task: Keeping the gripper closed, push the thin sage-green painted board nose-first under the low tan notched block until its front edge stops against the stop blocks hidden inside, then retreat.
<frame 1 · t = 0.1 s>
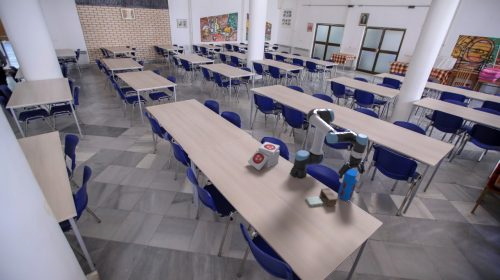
hand: (348, 180, 172), 28 cm above the table, fingers open, 13 cm apart
tan notched block: (327, 200, 194), on the table
thermos: (344, 196, 199), on the table
pizza boxes: (263, 164, 235), on the table
board: (313, 202, 191), on the table
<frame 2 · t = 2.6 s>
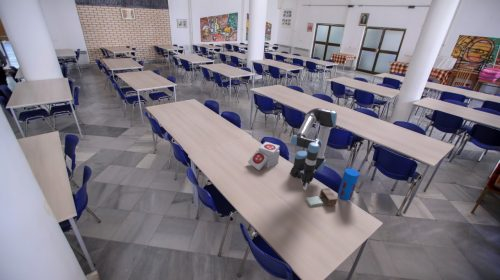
hand: (304, 189, 181), 15 cm above the table, fingers closed
nothing on the table moved.
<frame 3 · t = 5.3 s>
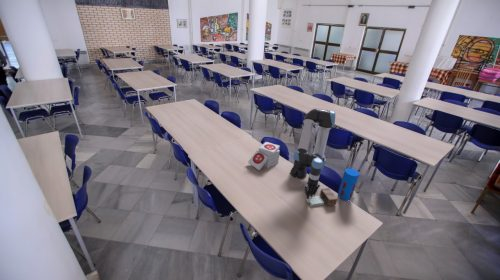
hand: (308, 201, 189), 1 cm above the table, fingers closed
board: (314, 202, 191), on the table, touching gripper
everything else where it was.
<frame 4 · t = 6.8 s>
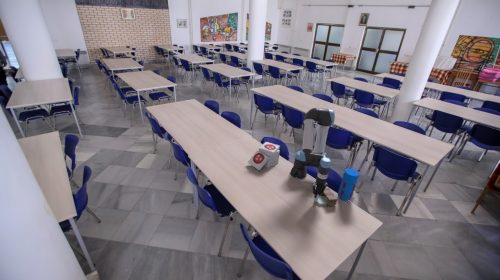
hand: (315, 200, 190), 1 cm above the table, fingers closed
board: (322, 201, 192), on the table, touching gripper
everything else where it was.
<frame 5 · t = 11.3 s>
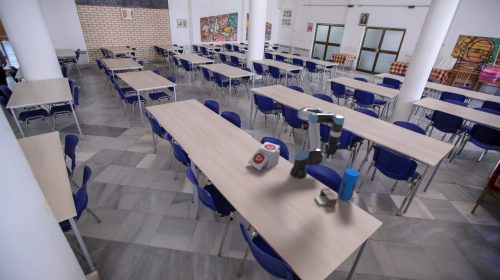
hand: (328, 161, 191), 29 cm above the table, fingers closed
board: (322, 201, 193), on the table
everything else where it was.
at the end: board 0.4 cm from the target spot on the tan notched block, point -0.5 cm above the tan notched block's base; board tilted 0° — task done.
